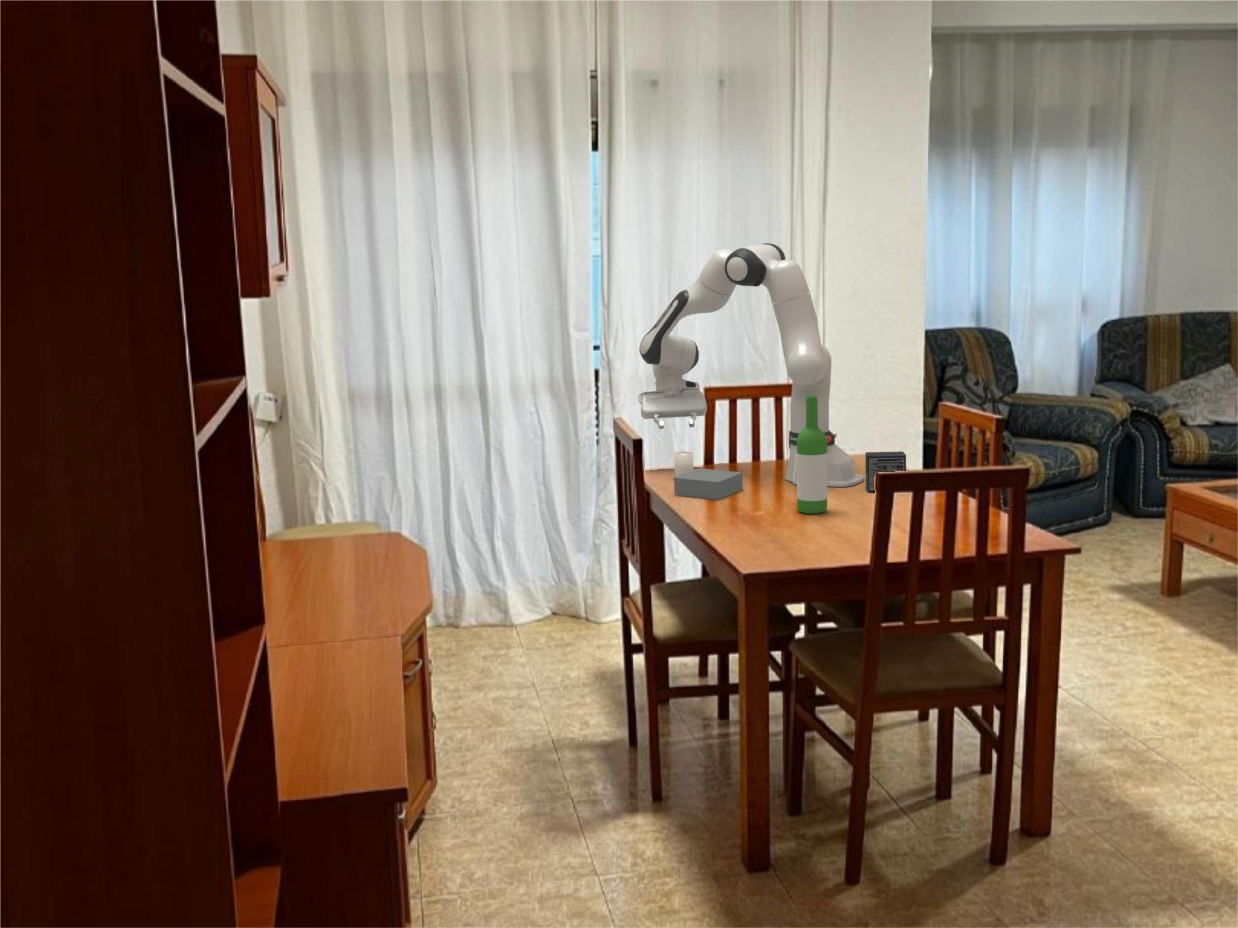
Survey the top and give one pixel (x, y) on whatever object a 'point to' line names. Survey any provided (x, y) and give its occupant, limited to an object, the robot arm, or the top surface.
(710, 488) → the plinth
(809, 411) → the wine bottle
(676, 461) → the cylinder
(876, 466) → the small box
